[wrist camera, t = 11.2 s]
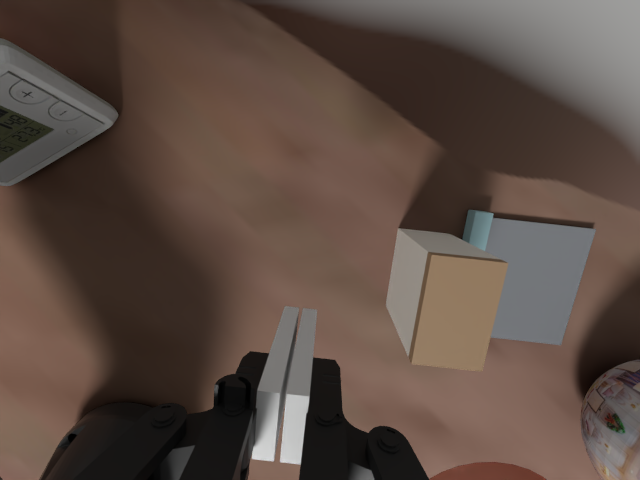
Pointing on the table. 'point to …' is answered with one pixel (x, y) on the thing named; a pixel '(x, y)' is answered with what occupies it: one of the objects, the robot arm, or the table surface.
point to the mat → (537, 277)
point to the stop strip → (477, 228)
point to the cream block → (444, 298)
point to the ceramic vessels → (488, 472)
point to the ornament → (614, 423)
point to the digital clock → (42, 114)
